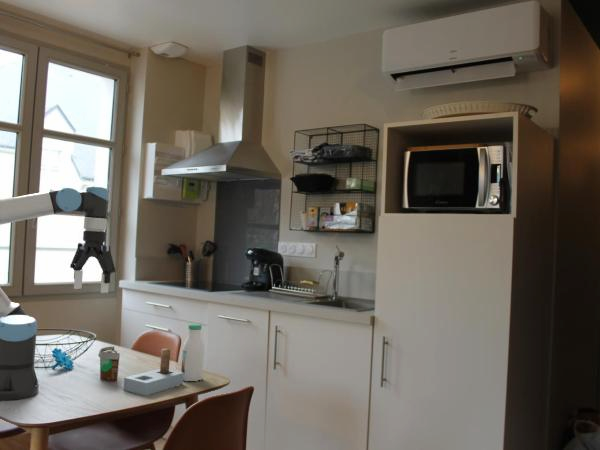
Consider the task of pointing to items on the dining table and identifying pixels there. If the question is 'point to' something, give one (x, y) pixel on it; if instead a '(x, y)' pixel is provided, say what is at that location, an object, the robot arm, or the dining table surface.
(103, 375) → the food container
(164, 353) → the peg
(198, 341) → the milk bottle
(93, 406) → the dining table surface
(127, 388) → the hole block
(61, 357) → the gear
